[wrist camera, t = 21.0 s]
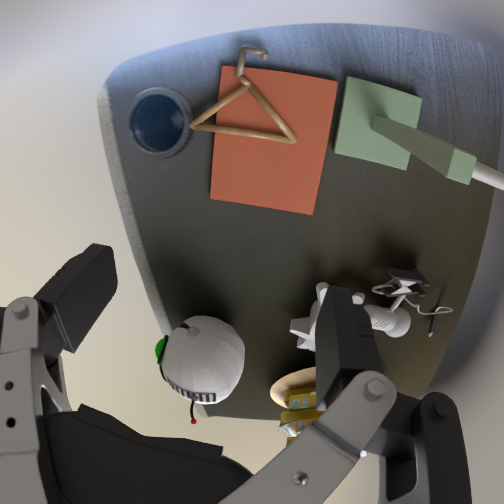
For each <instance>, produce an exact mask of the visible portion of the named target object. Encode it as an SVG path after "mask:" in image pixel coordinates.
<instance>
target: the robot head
mask: <svg viewBox="0 0 504 504" xmlns="http://www.w3.org/2000/svg"><path fill="white" fill-rule="evenodd" d="M155 352H156V356H157V358H158V361H157V363H158V364H160V372H161V374H162V377H163V379H164V380H165V381H167V382H168V383H169V384H170V386H171V387H172V388H173V389H174V390H175V391H176V392H177V393H178V394H180V395H181V396H183V397H184V398H186V399H188V400H190V401H192V404H191V408H190V414H191V418H192V420H191V423H192V424H196V420H195V419H194V416H193V405H194V402H195V403H200V404H213V403H218V402H219V401H221V400H223V399H225V398H227V397H228V396H229V394H230V393H231V392H232V390H233V389H234V387H235V386H236V385H237V383H238V381H239V379H240V376H241V374H242V371H243V367H244V353H245V348H244V344H243V341H242V340H241V338H240V337H239V336H238V334H237V333H236V331H235V330H234V328H233V327H232V326H231V325H229V324H227V323H225V322H223V321H221V320H220V319H218V318H214V317H210V316H193V317H191V318H188V319H187V320H185V321H184V322H183V323H182V324H181V325H180V327H178V328H176V329H175V330H174V331H173V332H172V333H171V335H170V336H169V337H168V335H165V337H164V338H163V339H161V340H160V341H159V342H158V343H157V345H156V349H155Z"/></svg>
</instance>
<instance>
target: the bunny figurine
mask: <svg viewBox="0 0 504 504" xmlns="http://www.w3.org/2000/svg"><path fill="white" fill-rule="evenodd" d="M328 286H329V284H327V283H325V282H320V283H319V284H317V286H316V291H317V297H318V300H316V301H315V302H314V303H313V305H312V308H311V311H310V317H306V318H298V319H292V320H291V325H290V332H292V333H294V334H296V335H298V336H299V339H298V341H297V348H301V349H309V350H310V351H314V352H315V326H316V321H317V317H318V314H319V311H320V308H321V305H322V302H323V299H324V296H325V293H326V290H327V288H328ZM352 298H353V303H354V304H362V303H363V300H364V298H365V295H364V294H363V293H356V294H354V295H353V296H352Z"/></svg>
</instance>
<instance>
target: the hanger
mask: <svg viewBox="0 0 504 504" xmlns="http://www.w3.org/2000/svg"><path fill="white" fill-rule="evenodd" d="M246 53H248V54H257V55H261V58H262V59H263V60H267V59H268V54H269V52H268V50H266V49H258V48H249V47H241V48H240V53H239V59H238V65H237V72H236V78H237V79H238V80H239V81H240V82H241V83H242V84H243V85H242V86H241V87H239V88H238V89H236V90H235V91H233V92H232V93H231V94H229V95H228V96H226V97H225V98H223V99H222V100H220V101H219V102H218V103H216V104H215V105H213V106H212V107H211V108H209V109H208V110H207V111H205V112H204V113H202V114H201V115H200V116H198V117H197V118H196V119H194V120H193V121H192V122H191V123H190V124H189V127H190V128H192V129H193V130H200V131H209V132H217V133H225V134H233V135H240V136H246V137H253V138H259V139H265V140H271V141H276V142H282V143H287V144H293V143H296V142H297V138H296V136H295V135H294V134H293V133H292V131H291V130H290V129H289V127H288V126H287V125H286V124H285V122H284V121H283V120H282V119H281V117H280V116H279V115H278V114H277V113H276V111H275V110H274V109H273V108H272V106H271V105H270V104H269V103H268V102H267V100H266V99H265V98H264V97H263V96H262V95H261V93H260V92H259V91H258V90H257V89H256V88H255V86H254V85H253V84H251V83H250V82H249V81H248V80H247V79H246V78H245V77H244V76H243V71H244V64H245V58H246ZM246 91H249V92H250V93H251V94H252V95H253V97H254V98H255V99H256V100H257V101H258V102H259V104H260V105H261V106H262V107H263V108H264V110H265V111H266V112H267V113H268V114H269V116H270V117H271V118H272V119H273V120H274V122H275V123H276V124H277V125H278V127H279V128H280V129H281V130H282V132H283V133H284V134H285V135H286V136H283V135H278V134H272V133H266V132H260V131H254V130H248V129H241V128H234V127H226V126H218V125H209V124H201V123H202V122H203V121H205V120H206V119H207V118H209V117H210V116H211V115H213V114H214V113H216V112H217V111H218V110H220V109H221V108H223V107H224V106H226V105H227V104H229V103H230V102H231V101H233V100H234V99H236V98H237V97H239V96H240V95H242V94H243V93H245V92H246Z"/></svg>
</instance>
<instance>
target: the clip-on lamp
mask: <svg viewBox="0 0 504 504" xmlns="http://www.w3.org/2000/svg"><path fill="white" fill-rule="evenodd" d="M386 271H387V273H388V274H389V275H390V276H391V277H392V278H393V279H392V280H391V281H389V282H387V283H386V284H383V285H377V286H374V287H373V288H372V291H373V292H375V293H378V294H384V295H385V296H387V297H394V296H398V297H397V298H396V300H395V301H394V303H393V304H392V305H391V307H390V308H382V307H378V306H374V305H366V306H364V309H365V310H366V311H367V313H368V314H369V315H370V319H371V323H372V328H373V329H378V330H383V331H385V333H386V334H387V335H389V336H391V337H400V336H402V335H404V334H405V333H406V332H407V331H408V329H409V327H410V322H411V319H410V315H409V313H408V312H407V311H406V310H405V309H404V308H401V307H398V305H399V304H400V303H401V301H402V300H403V298H404V299H406V301H407V302H408V303H409V304H410V305H412V306H413V307H417V310H418V312H419V313H420V314H432V319H431V324H430V328H429V333H430V334H429V335H428V336H429V337H430V336H431V335H432V333H434V331H435V326H436V322H437V317H438V314H439V313H446V312H451V311H453V309H452V308H449V307H438V308H437V309H436V310H435V312H432V313H423V312H420V311H419V304H418V303H417V304H412V303H411V302H410V301H409V300H408V299H407V298H406V297H405V296H406V295H411V294H418V295H419V296H420V297H425V295H426V293H425V292H424V291H423V290H422V288H421V287H420V286H419V285H418V284H417V283H422V284H423V285H424V286H427V287H429V285H430V283H429V282H428V281H427V280H426V279H425V278H424V276H423V275H422V274H421V273H420V272H419V271H418V270H417V269H412V271H408V270H402V269H396V268H390V267H388V268H387V270H386ZM377 288H380V289H381V290H382V291H378V290H375V289H377ZM440 308H448V309H451V310H448V311H441V312H437V311H438V310H439V309H440Z"/></svg>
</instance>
